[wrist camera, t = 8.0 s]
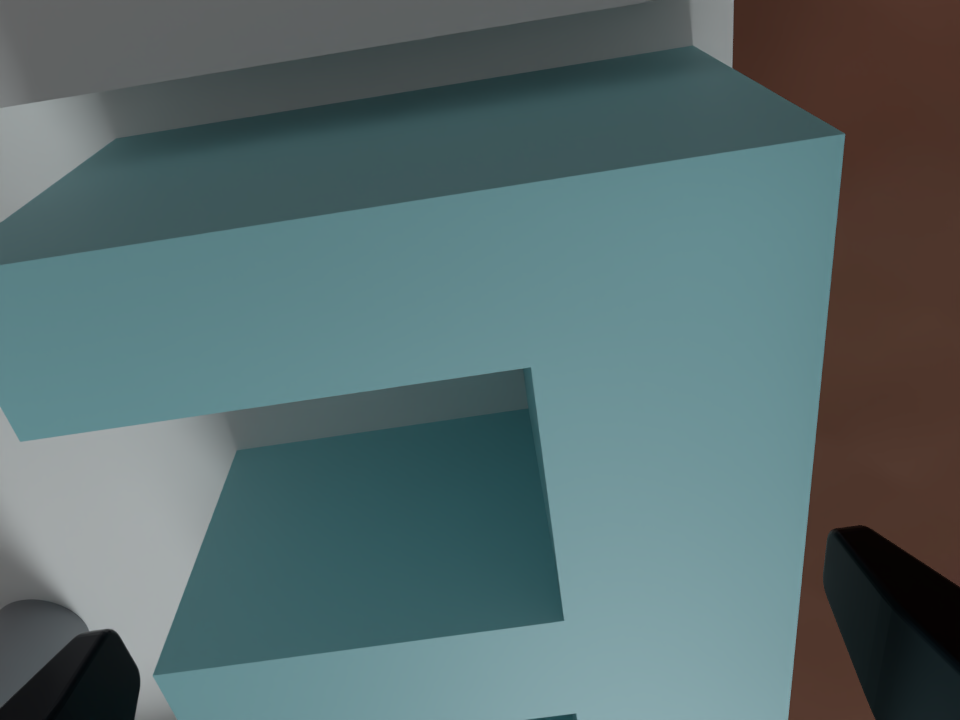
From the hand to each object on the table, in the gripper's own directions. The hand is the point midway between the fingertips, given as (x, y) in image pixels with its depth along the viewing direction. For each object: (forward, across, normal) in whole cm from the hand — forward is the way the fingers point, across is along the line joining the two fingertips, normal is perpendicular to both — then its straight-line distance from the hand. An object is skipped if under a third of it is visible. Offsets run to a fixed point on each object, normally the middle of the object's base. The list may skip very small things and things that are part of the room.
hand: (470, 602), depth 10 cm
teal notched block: (+3, 0, 0) cm, 3 cm away
